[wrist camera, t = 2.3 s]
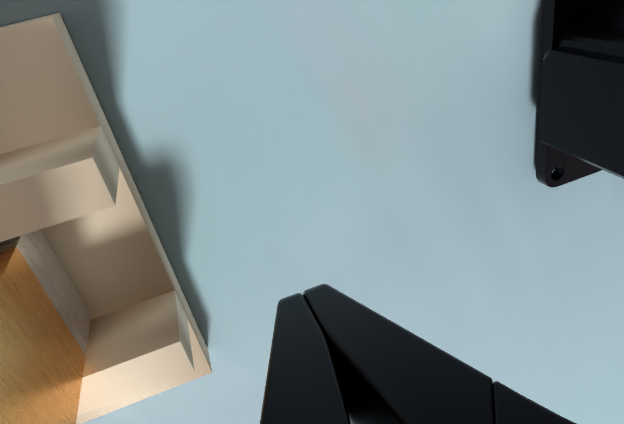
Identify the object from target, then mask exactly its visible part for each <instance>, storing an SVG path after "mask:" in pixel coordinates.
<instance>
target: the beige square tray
mask: <svg viewBox="0 0 624 424" xmlns="http://www.w3.org/2000/svg"><path fill="white" fill-rule="evenodd" d="M37 230H41V232H42V233H43V235H44V237H45V238H46V240H47V242H48V243H49V245H50V247H51V249H52V250H53V252H54V254H55V255H56V257H57V259H58V260H59V262H60V264H61V266H62V267H63V269H64V271H65V272H66V274H67V276H68V277H69V279H70V281H71V283H72V284H73V286H74V288H75V289H76V291H77V293H78V294H79V296H80V298H81V300H82V301H83V303H84V305H85V306H86V308H87V310H88V311H89V313H90V315H91V322H90V329H89V336H88V343H87V350H86V357H85V364H84V371H83V378H82V385H81V392H80V399H79V406H78V413H77V420H76V424H81V423H84V422H86V421H89V420H92V419H94V418H97V417H99V416H102V415H104V414H107V413H109V412H112V411H115V410H117V409H120V408H122V407H125V406H127V405H130V404H133V403H135V402H138V401H140V400H143V399H145V398H148V397H151V396H153V395H156V394H158V393H161V392H163V391H166V390H169V389H171V388H174V387H176V386H179V385H181V384H184V383H187V382H189V381H192V380H194V379H197V378H199V377H202V376H205V375H207V374H210V373H212V370H211V364H210V358H209V352H208V348H207V346H206V344H205V342H204V339H203V337H202V335H201V332H200V330H199V328H198V326H197V323H196V321H195V319H194V317H193V314H192V312H191V310H190V308H189V305H188V303H187V301H186V298H185V296H184V294H183V292H182V289H181V287H180V285H179V283H178V280H177V278H176V276H175V273H174V271H173V269H172V267H171V264H170V262H169V260H168V258H167V255H166V253H165V251H164V248H163V246H162V244H161V242H160V239H159V237H158V235H157V233H156V230H155V228H154V226H153V224H152V221H151V219H150V217H149V214H148V212H147V210H146V208H145V205H144V203H143V201H142V199H141V196H140V194H139V192H138V189H137V187H136V185H135V183H134V180H133V178H132V176H131V174H130V171H129V169H128V167H127V165H126V162H125V160H124V158H123V155H122V153H121V151H120V149H119V146H118V144H117V142H116V140H115V137H114V135H113V133H112V130H111V128H110V126H109V124H108V121H107V119H106V117H105V115H104V112H103V110H102V108H101V106H100V103H99V101H98V99H97V96H96V94H95V92H94V90H93V87H92V85H91V83H90V81H89V78H88V76H87V74H86V71H85V69H84V67H83V65H82V62H81V60H80V58H79V56H78V53H77V51H76V49H75V47H74V44H73V42H72V40H71V37H70V35H69V33H68V31H67V28H66V26H65V24H64V22H63V19H62V17H61V15H60V13H56V14H52V15H47V16H43V17H39V18H35V19H31V20H27V21H23V22H19V23H14V24H10V25H6V26H2V27H0V242H2V241H5V240H8V239H12V238H15V237H18V236H21V235H24V234H27V233H31V232H34V231H37Z"/></svg>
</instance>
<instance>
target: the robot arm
mask: <svg viewBox="0 0 624 424" xmlns="http://www.w3.org/2000/svg"><path fill="white" fill-rule="evenodd" d="M554 169H555V170H554ZM553 170H554V171H553ZM601 170H605V171H607V172H609V173H612V174H614V175H616V176H618V177H621V178H623V179H624V0H544V8H543V30H542V51H541V73H540V95H539V117H538V138H537V160H536V177H537V179H538V181H539V182H541V183H543V184H545V185H547V186H549V187H557V186H560V185H563V184H566V183H568V182H571V181H574V180H576V179H579V178H582V177H585V176H587V175H590V174H593V173H595V172H598V171H601ZM552 171H553V173H552ZM260 424H576V423H574V422H572V421H570V420H568V419H566V418H564V417H562V416H560V415H558V414H556V413H554V412H552V411H550V410H548V409H546V408H545V407H543V406H541V405H539V404H537V403H535V402H533V401H532V400H530V399H528V398H526V397H524V396H522V395H520V394H519V393H517V392H515V391H513V390H512V389H510V388H508V387H506V386H505V385H503V384H501V383H499V382H498V381H495V382H494V383H493V381H492V379H491V378H490V377H488V376H487V375H485V374H483V373H481V372H480V371H478V370H476V369H474V368H473V367H471V366H469V365H467V364H466V363H464V362H462V361H460V360H459V359H457V358H455V357H453V356H452V355H450V354H448V353H446V352H445V351H443V350H441V349H439V348H438V347H436V346H434V345H432V344H431V343H429V342H427V341H425V340H424V339H422V338H420V337H418V336H417V335H415V334H413V333H411V332H410V331H408V330H406V329H404V328H403V327H401V326H399V325H397V324H395V323H394V322H392V321H390V320H388V319H387V318H385V317H383V316H381V315H380V314H378V313H376V312H374V311H373V310H371V309H369V308H367V307H366V306H364V305H362V304H360V303H359V302H357V301H355V300H353V299H352V298H350V297H348V296H346V295H345V294H343V293H341V292H339V291H338V290H336V289H334V288H332V287H331V286H329V285H327V284H321V285H319V286H316V287H313V288H310V289H308V290H305V291H304V293H303V295H302V294H301V293H297V294H294V295H291V296H289V297H286V298H283V299H281V300H280V301H279V302H278V306H277V313H276V319H275V326H274V333H273V339H272V346H271V353H270V359H269V366H268V373H267V379H266V386H265V393H264V399H263V406H262V413H261V419H260Z"/></svg>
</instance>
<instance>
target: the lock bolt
mask: <svg viewBox="0 0 624 424" xmlns="http://www.w3.org/2000/svg"><path fill="white" fill-rule="evenodd" d="M90 322H91V315H90V313H89V311H88V310H87V308H86V306H85V305H84V303H83V301H82V300H81V298H80V296H79V294H78V293H77V291H76V289H75V288H74V286H73V284H72V283H71V281H70V279H69V277H68V276H67V274H66V272H65V271H64V269H63V267H62V266H61V264H60V262H59V260H58V259H57V257H56V255H55V254H54V252H53V250H52V249H51V247H50V245H49V243H48V242H47V240H46V238H45V237H44V235H43V233H42V232H41V230H37V231H34V232H31V233H27V234H24V235H21V236H18V237H15V238H12V239H8V240H5V241H2V242H0V424H76V420H77V413H78V406H79V399H80V392H81V385H82V378H83V371H84V364H85V357H86V350H87V343H88V336H89V329H90Z"/></svg>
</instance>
